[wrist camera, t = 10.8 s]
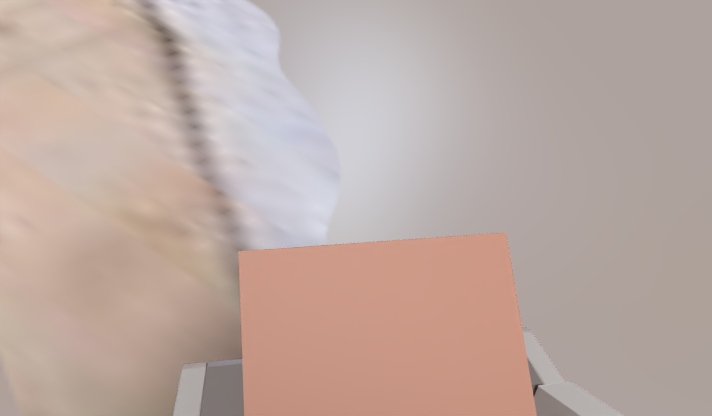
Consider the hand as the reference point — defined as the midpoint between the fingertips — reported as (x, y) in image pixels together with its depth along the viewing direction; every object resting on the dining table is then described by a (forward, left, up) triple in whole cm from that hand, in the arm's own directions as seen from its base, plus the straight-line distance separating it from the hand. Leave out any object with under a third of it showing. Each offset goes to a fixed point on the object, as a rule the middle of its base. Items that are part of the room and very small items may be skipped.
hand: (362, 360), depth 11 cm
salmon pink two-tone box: (0, 0, -9) cm, 9 cm away
